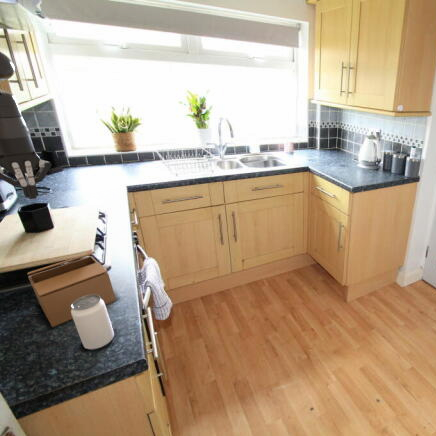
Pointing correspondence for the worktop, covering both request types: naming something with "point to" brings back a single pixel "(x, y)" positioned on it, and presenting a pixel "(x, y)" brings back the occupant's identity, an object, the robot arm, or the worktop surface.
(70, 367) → the worktop surface
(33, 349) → the worktop surface
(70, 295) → the carton
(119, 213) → the worktop surface
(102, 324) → the can
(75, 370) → the worktop surface
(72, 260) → the flap
